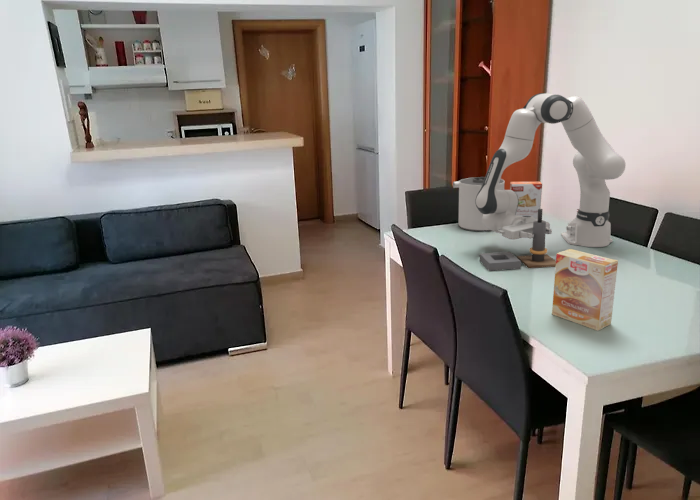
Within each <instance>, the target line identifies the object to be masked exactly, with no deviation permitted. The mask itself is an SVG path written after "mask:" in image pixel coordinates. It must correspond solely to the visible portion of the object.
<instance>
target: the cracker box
mask: <svg viewBox="0 0 700 500" xmlns="http://www.w3.org/2000/svg"><path fill="white" fill-rule="evenodd" d="M509 184H510V185H509V190H513V191H514V192H515V193H516V194H517V196H518V200H519V203H518V208H517V211H516V214H515V215H516V216H517V215H518V216H533V217H534V218H535V219H538V209H542V208H541V206H542V194H543V191H542V190H543V183H542V182H541V181H510V183H509Z"/></svg>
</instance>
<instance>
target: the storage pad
mask: <svg viewBox="0 0 700 500" xmlns="http://www.w3.org/2000/svg"><path fill="white" fill-rule="evenodd" d="M516 257H517V258H518V259H519V260H520V261H521V264H523V265H524V266H525V267H526V266H527V267H526V268H527V269H539V268H554V267H555V268H556V259H554V258H553V257H551V256H550V255H548V254H547V253H546V254H544V261H541V262H536V261H533V260H532V254H527V255H516Z"/></svg>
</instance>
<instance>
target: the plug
mask: <svg viewBox="0 0 700 500" xmlns="http://www.w3.org/2000/svg"><path fill="white" fill-rule="evenodd" d="M542 220H543V208H540V209H538V220H537V221H534V222H533V234H534V237H533V238H532V243H531V244H532V246H531V247H530V248H529V253H530V254H531V255H532V260H533V261H536V262H541V261H544V254H547V253H548V248H546V234H545V233H546V222H547V221H546V222H545V220H543V221H542Z"/></svg>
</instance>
